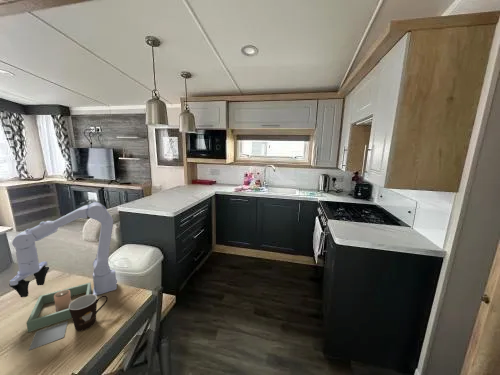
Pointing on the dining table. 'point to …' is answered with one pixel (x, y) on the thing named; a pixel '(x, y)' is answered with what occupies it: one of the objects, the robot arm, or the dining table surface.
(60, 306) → the pink plant pot
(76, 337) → the dining table surface
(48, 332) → the slate mat
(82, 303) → the coffee mug
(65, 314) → the green square frame
